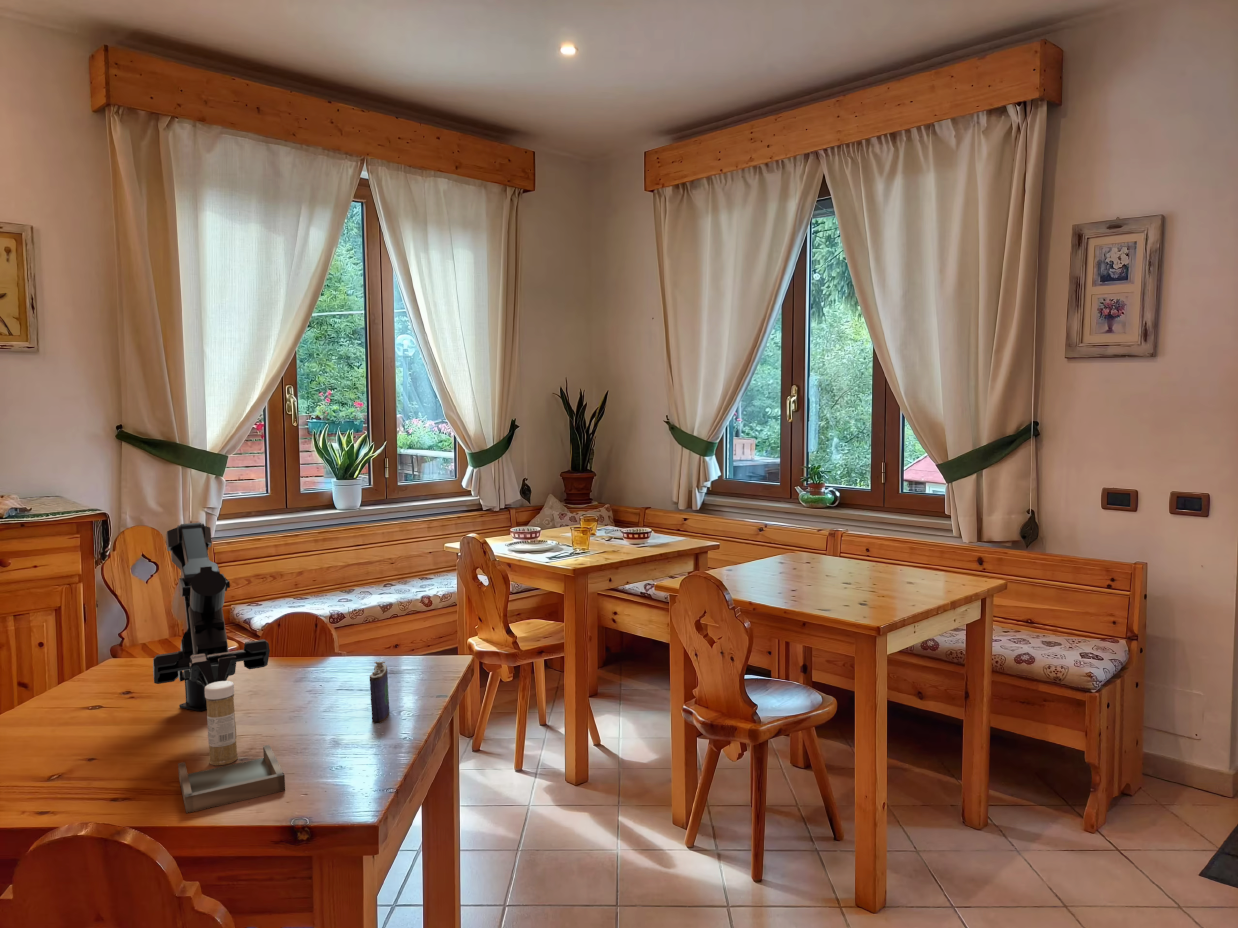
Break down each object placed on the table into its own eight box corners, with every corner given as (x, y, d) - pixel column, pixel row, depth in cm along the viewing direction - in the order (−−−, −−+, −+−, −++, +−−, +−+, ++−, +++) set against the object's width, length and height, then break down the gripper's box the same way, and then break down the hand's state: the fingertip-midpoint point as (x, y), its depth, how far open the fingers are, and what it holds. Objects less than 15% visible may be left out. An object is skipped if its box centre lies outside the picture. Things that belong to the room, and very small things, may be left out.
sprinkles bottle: (237, 753, 151) (233, 678, 150) (238, 763, 147) (234, 685, 146) (208, 758, 149) (204, 682, 148) (208, 768, 145) (204, 690, 144)
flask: (376, 707, 173) (374, 654, 172) (392, 706, 173) (390, 653, 172) (370, 724, 164) (368, 668, 163) (386, 723, 164) (384, 667, 163)
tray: (178, 778, 141) (178, 763, 141) (270, 758, 148) (269, 744, 148) (186, 813, 129) (185, 796, 128) (285, 790, 136) (284, 774, 136)
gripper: (258, 643, 169) (270, 714, 160) (150, 659, 160) (157, 736, 151) (263, 611, 162) (276, 684, 153) (150, 625, 152) (157, 704, 144)
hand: (218, 702), depth 150 cm, fingers closed
